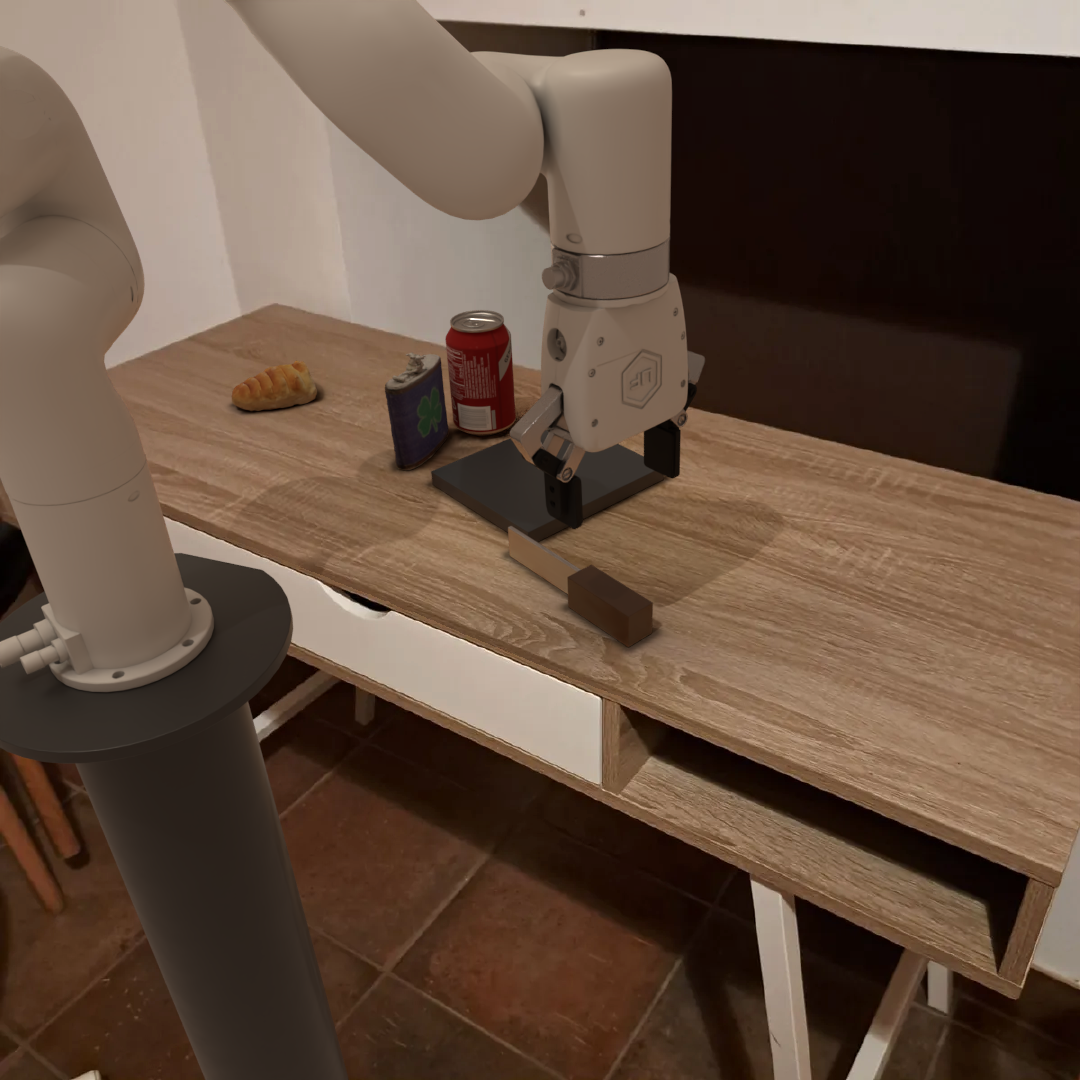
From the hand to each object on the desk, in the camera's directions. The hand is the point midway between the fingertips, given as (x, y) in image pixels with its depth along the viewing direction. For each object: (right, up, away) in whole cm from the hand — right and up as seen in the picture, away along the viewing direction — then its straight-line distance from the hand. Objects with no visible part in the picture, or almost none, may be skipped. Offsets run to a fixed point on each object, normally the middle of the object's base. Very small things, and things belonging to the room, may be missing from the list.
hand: (614, 495), depth 74 cm
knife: (-2, -8, +9) cm, 12 cm away
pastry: (-35, +13, +43) cm, 57 cm away
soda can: (-11, +9, +36) cm, 39 cm away
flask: (-18, +6, +32) cm, 37 cm away
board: (-5, +2, +25) cm, 25 cm away
